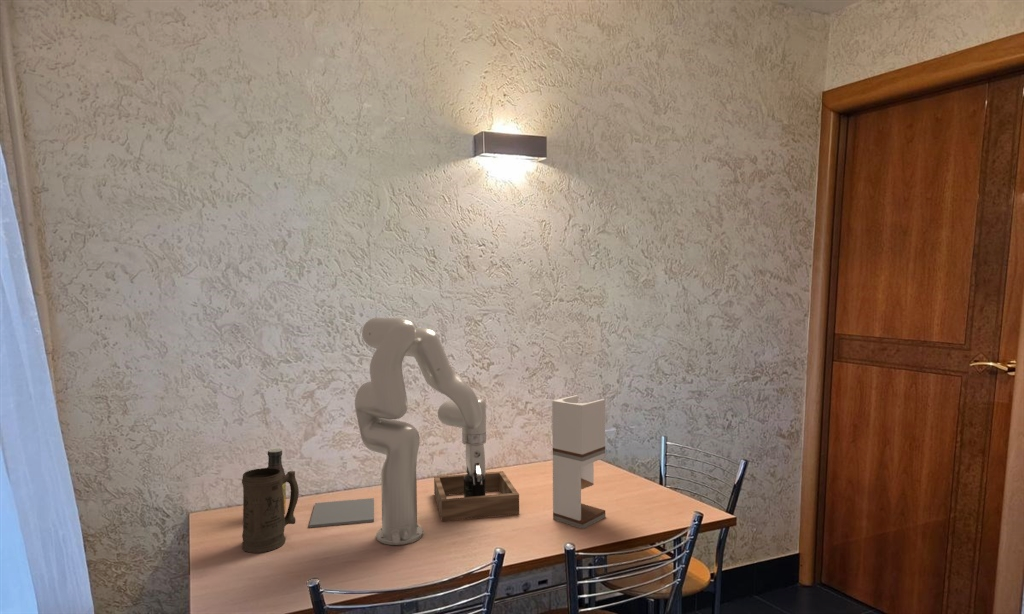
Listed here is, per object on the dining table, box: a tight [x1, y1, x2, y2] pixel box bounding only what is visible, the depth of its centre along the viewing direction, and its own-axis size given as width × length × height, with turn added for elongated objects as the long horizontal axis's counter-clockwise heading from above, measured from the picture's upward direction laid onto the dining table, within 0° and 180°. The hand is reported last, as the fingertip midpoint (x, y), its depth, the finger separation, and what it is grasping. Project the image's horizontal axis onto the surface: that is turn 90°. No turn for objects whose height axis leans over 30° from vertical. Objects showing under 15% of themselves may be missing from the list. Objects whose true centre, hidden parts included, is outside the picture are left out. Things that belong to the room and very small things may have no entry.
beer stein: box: [241, 467, 300, 554], centre depth 162 cm, size 15×11×20 cm
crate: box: [433, 471, 520, 522], centre depth 189 cm, size 23×23×6 cm
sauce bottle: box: [266, 448, 287, 515], centre depth 181 cm, size 6×6×20 cm
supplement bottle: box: [463, 467, 487, 497], centre depth 189 cm, size 7×7×12 cm
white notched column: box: [551, 394, 606, 530], centre depth 177 cm, size 11×11×35 cm
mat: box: [308, 497, 375, 529], centre depth 183 cm, size 18×18×1 cm
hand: (474, 491), depth 189 cm, fingers open, 8 cm apart
